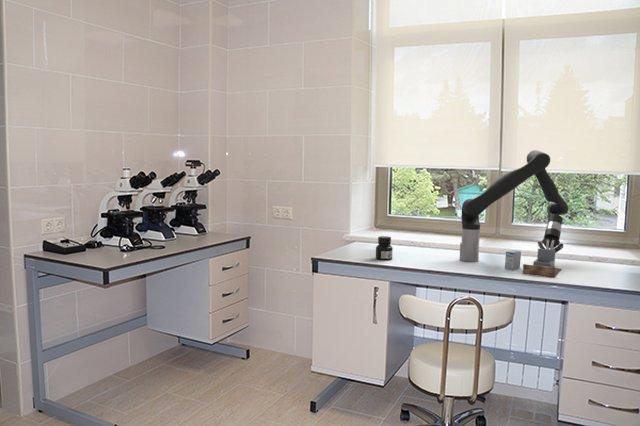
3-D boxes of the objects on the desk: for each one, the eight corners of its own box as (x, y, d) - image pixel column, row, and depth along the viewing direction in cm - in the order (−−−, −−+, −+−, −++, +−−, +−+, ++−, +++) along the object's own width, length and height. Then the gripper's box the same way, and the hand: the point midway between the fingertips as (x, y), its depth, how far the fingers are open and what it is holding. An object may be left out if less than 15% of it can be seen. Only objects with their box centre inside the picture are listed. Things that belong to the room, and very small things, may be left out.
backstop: (522, 273, 252) (523, 264, 252) (531, 266, 272) (532, 257, 271) (554, 277, 245) (554, 268, 244) (561, 269, 264) (561, 260, 264)
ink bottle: (383, 261, 278) (384, 238, 276) (371, 258, 284) (372, 236, 283) (396, 259, 284) (396, 237, 283) (383, 257, 291) (384, 235, 289)
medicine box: (511, 266, 270) (512, 249, 269) (520, 268, 267) (521, 251, 266) (504, 268, 264) (505, 251, 263) (513, 270, 261) (514, 252, 260)
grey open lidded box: (532, 269, 258) (534, 251, 258) (537, 265, 269) (538, 248, 268) (550, 271, 254) (551, 253, 253) (554, 267, 264) (555, 250, 264)
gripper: (538, 226, 280) (533, 252, 271) (566, 228, 274) (561, 255, 264) (540, 235, 285) (534, 261, 276) (566, 237, 279) (562, 264, 269)
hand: (547, 258), depth 270 cm, fingers closed
